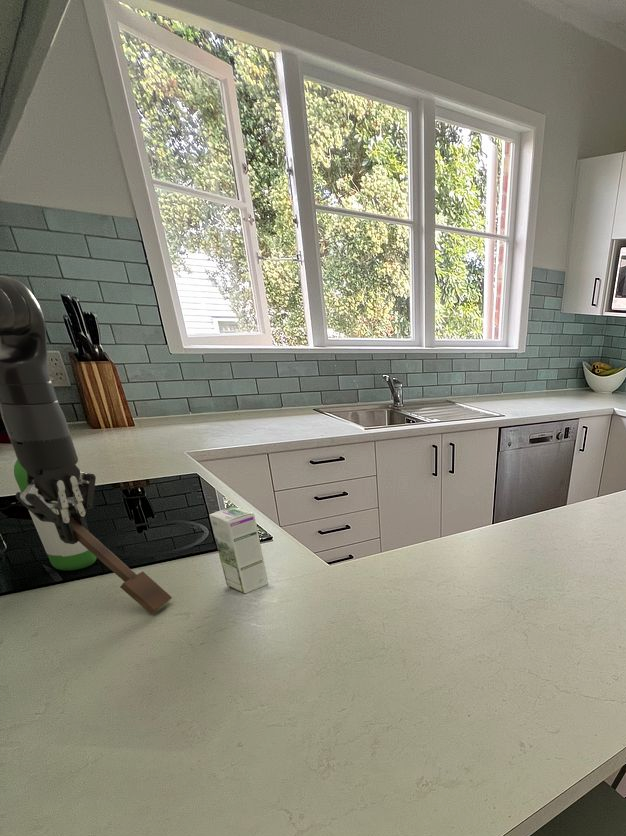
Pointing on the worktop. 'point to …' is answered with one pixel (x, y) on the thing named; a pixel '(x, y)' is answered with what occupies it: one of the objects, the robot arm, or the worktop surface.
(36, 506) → the robot arm
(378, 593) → the worktop surface
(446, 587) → the worktop surface
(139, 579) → the brown paddle
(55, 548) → the wine bottle
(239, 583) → the syrup box
